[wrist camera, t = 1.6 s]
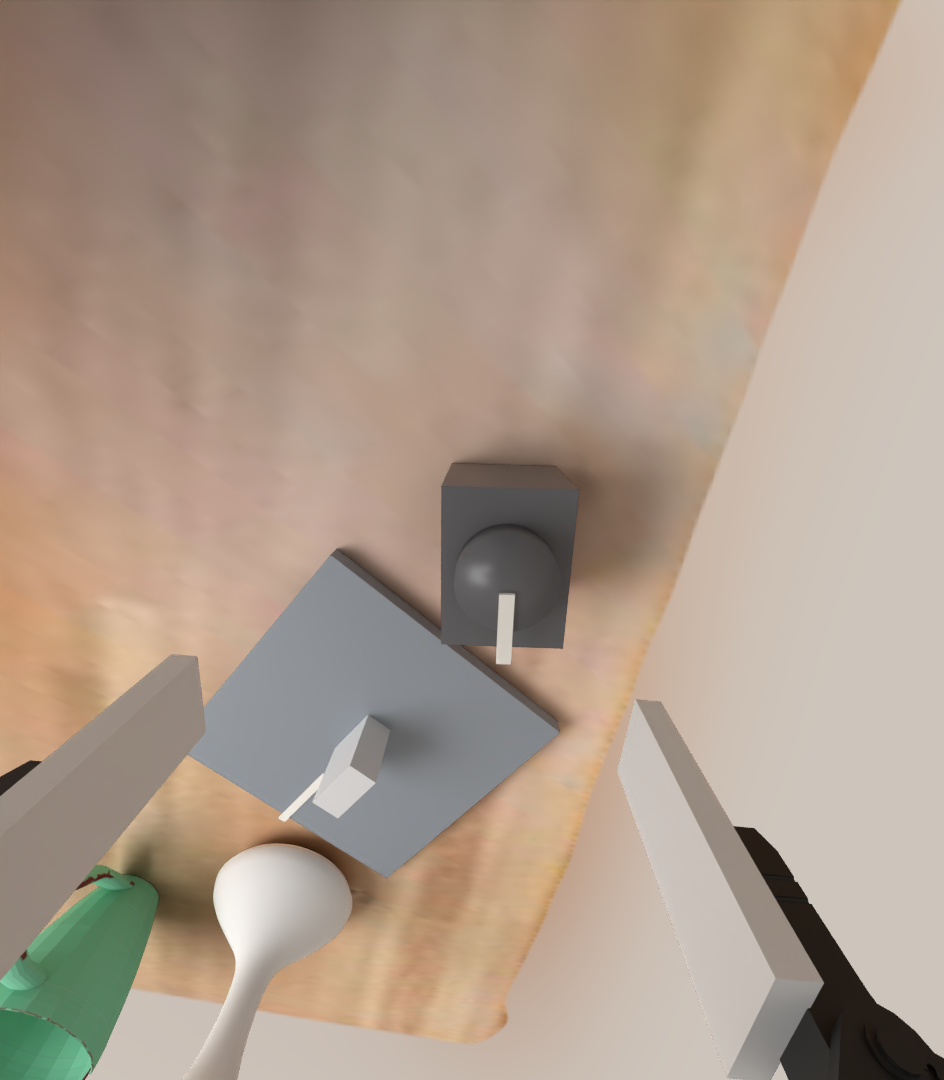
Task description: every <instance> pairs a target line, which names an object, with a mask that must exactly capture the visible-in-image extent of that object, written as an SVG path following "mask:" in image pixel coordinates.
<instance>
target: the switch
mask: <svg viewBox="0 0 944 1080" xmlns="http://www.w3.org/2000/svg"><path fill="white" fill-rule="evenodd" d="M203 709H204V717H205V726H206V732H205V734H204V735H203V736H202V737H201V738H200V740H199V741H198V742H197V743H196V745H195V746H194V747H193V748H192V749H191V751H190V752H189V753H188V754H187V755H189V756H191V757H192V758H194V759H195V760H197V761H199V762H200V763H202V764H203V765H205V766H207V767H208V768H210V769H212V770H213V771H215V772H216V773H218V774H220V775H221V776H223V777H224V778H226V779H228V780H229V781H231V782H232V783H234V784H236V785H237V786H239V787H240V788H242V789H244V790H245V791H247V792H249V793H250V794H252V795H253V796H255V797H257V798H258V799H260V800H261V801H263V802H265V803H266V804H268V805H269V806H271V807H273V808H274V809H276V810H278V811H279V812H281V813H282V814H281V815H280V816H279V819H280V820H282V821H284V822H285V821H286V820H287V819H288V818H290V819H292V820H294V821H295V822H297V823H298V824H300V825H302V826H303V827H305V828H306V829H308V830H310V831H311V832H313V833H315V834H316V835H318V836H319V837H321V838H323V839H324V840H326V841H327V842H329V843H331V844H332V845H334V846H335V847H337V848H339V849H340V850H342V851H343V852H345V853H347V854H348V855H350V856H352V857H353V858H355V859H356V860H358V861H360V862H361V863H363V864H364V865H366V866H368V867H369V868H371V869H372V870H374V871H376V872H377V873H379V874H381V875H382V876H384V877H385V878H388V877H389V876H390V875H391V874H392V873H394V872H395V871H396V870H397V869H398V868H400V867H401V866H402V865H403V864H404V863H405V862H407V861H408V860H409V859H410V858H411V857H413V856H414V855H415V854H416V853H417V852H419V851H420V850H421V849H422V848H423V847H425V846H426V845H427V844H428V843H429V842H430V841H432V840H433V839H434V838H435V837H436V836H438V835H439V834H440V833H441V832H442V831H444V830H445V829H446V828H447V827H448V826H450V825H451V824H452V823H453V822H454V821H455V820H457V819H458V818H459V817H460V816H461V815H463V814H464V813H465V812H466V811H467V810H469V809H470V808H471V807H472V806H473V805H475V804H476V803H477V802H478V801H479V800H480V799H482V798H483V797H484V796H485V795H486V794H488V793H489V792H490V791H491V790H492V789H494V788H495V787H496V786H497V785H498V784H500V783H501V782H502V781H503V780H504V779H505V778H507V777H508V776H509V775H510V774H511V773H513V772H514V771H515V770H516V769H517V768H519V767H520V766H521V765H522V764H523V763H525V762H526V761H527V760H528V759H529V758H530V757H532V756H533V755H534V754H535V753H536V752H538V751H539V750H540V749H541V748H542V747H544V746H545V745H546V744H547V743H548V742H550V741H551V740H552V739H553V738H554V737H555V736H557V735H558V734H559V733H560V730H559V726H558V722H557V720H556V719H554V718H553V717H552V716H551V715H549V714H548V713H547V712H545V711H544V710H543V709H542V708H540V707H539V706H538V705H536V704H535V703H534V702H533V701H531V700H530V699H529V698H527V697H526V696H525V695H524V694H522V693H521V692H520V691H519V690H517V689H516V688H515V687H513V686H512V685H511V684H510V683H508V682H507V681H506V680H504V679H503V678H502V677H501V676H499V675H498V674H497V673H495V672H494V671H493V670H492V669H490V668H489V667H488V666H486V665H485V664H484V663H483V662H481V661H480V660H479V659H478V658H476V657H475V656H474V655H472V654H471V653H470V652H469V651H467V650H466V649H465V648H463V647H462V646H461V645H446V644H441V630H440V629H439V628H438V627H436V626H435V625H434V624H433V623H431V622H430V621H429V620H428V619H426V618H425V617H424V616H422V615H421V614H420V613H419V612H417V611H416V610H415V609H413V608H412V607H411V606H410V605H408V604H407V603H406V602H404V601H403V600H402V599H401V598H399V597H398V596H397V595H395V594H394V593H393V592H392V591H390V590H389V589H388V588H387V587H385V586H384V585H383V584H381V583H380V582H379V581H378V580H376V579H375V578H374V577H372V576H371V575H370V574H369V573H367V572H366V571H365V570H363V569H362V568H361V567H360V566H358V565H357V564H356V563H354V562H353V561H352V560H351V559H349V558H348V557H347V556H346V555H344V554H343V553H342V552H340V551H339V550H338V549H336V550H335V551H334V552H333V553H332V554H331V555H330V557H329V558H328V559H327V560H326V561H325V563H324V564H323V565H322V566H321V567H320V569H319V570H318V571H317V572H316V573H315V575H314V576H313V577H312V578H311V579H310V581H309V582H308V583H307V584H306V585H305V587H304V588H303V589H302V590H301V591H300V593H299V594H298V595H297V596H296V597H295V599H294V600H293V601H292V602H291V603H290V605H289V606H288V607H287V608H286V609H285V611H284V612H283V613H282V614H281V615H280V617H279V618H278V619H277V620H276V621H275V623H274V624H273V625H272V626H271V627H270V629H269V630H268V631H267V632H266V634H265V635H264V636H263V637H262V638H261V640H260V641H259V642H258V643H257V644H256V646H255V647H254V648H253V649H252V650H251V652H250V653H249V654H248V655H247V656H246V658H245V659H244V660H243V661H242V662H241V664H240V665H239V666H238V667H237V668H236V670H235V671H234V672H233V673H232V674H231V676H230V677H229V678H228V679H227V680H226V682H225V683H224V684H223V685H222V686H221V688H220V689H219V690H218V691H217V692H216V694H215V695H214V696H213V697H212V698H211V700H210V701H209V702H208V703H207V704H206V706H205V707H204V708H203Z"/></svg>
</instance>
